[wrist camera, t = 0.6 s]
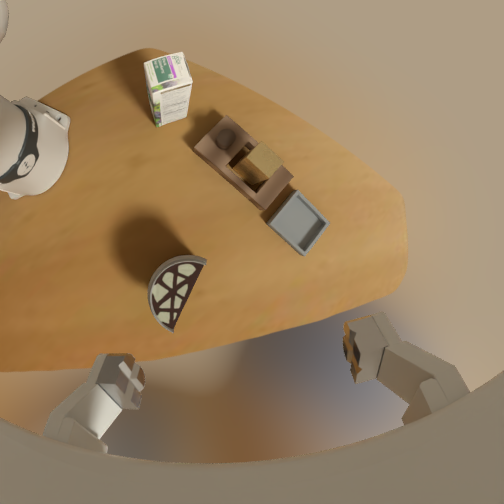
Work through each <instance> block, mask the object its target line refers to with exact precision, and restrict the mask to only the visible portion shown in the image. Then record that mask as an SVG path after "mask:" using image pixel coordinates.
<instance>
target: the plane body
mask: <svg viewBox="0 0 504 504" xmlns="http://www.w3.org/2000/svg"><path fill="white" fill-rule="evenodd" d="M257 144H258V142H257V141H256V140H254V139H253V138H252V137H251V136H250V135H249V134H248V133H247V132H246V131H244V130H243V129H242V128H241V127H240V126H239V125H238V124H236V123H235V122H234V121H233V120H232V119H231V118H229V117H228V116H227V115H226V116H225V117H224V118H223V119H222V120H221V121H220V122H218V123H217V124H216V125H215V126H214V127H213V128H212V129H211V130H210V131H209V132H208V133H207V134H206V135H205V136H204V137H203V138H202V139H201V141H200V142H199V143H198V144H197V145H196V146H195V147H194V150H193V152H194V153H196V154H197V155H198V156H199V157H200V158H202V159H203V160H204V161H205V162H206V163H207V164H209V165H210V166H211V167H212V168H213V169H214V170H215V171H217V172H218V173H219V174H220V175H221V176H222V177H223V178H225V179H226V180H227V181H228V182H229V183H230V184H231V185H233V186H234V187H235V188H236V189H237V190H238V191H239V192H240V193H242V194H243V195H244V196H245V197H246V198H247V199H248V200H249V201H251V202H252V203H253V204H254V205H255V206H256V207H257V208H258V209H259V210H266V209H267V208H268V207H269V205H270V204H271V203H272V202H273V201H274V199H275V198H276V197H277V196H278V195H279V193H280V192H281V191H282V190H283V189H284V187H285V186H286V185H287V184H288V183H289V182H290V180H291V179H292V178H293V177H294V176H293V175H292V174H291V173H290V172H289V171H288V170H287V169H286V168H284V167H283V166H282V165H281V166H280V167H279V168H278V169H277V170H276V171H275V172H274V174H273V175H272V176H271V177H270V178H269V179H266V180H264V181H263V182H262V184H261V185H260V186H259V187H258V188H257V189H256V191H255V192H254V191H253V190H252V189H250V188H249V187H248V186H247V185H246V184H245V183H244V182H243V181H242V180H240V179H239V178H238V177H237V176H236V175H235V174H234V173H233V172H231V171H230V170H229V169H228V168H227V167H226V165H227V164H228V163H229V161H230V160H231V159H232V158H233V157H234V156H235V155H236V154H237V153H238V152H239V151H240V150H241V149H242V148H243V147H244V146H245V147H246V148H248V149H249V150H251V149H252V148H254V147H255V146H256V145H257Z"/></svg>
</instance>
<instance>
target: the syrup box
mask: <svg viewBox="0 0 504 504" xmlns="http://www.w3.org/2000/svg"><path fill="white" fill-rule="evenodd" d="M144 69H145V77H146V85H147V92H148V98H149V103H150V107H151V111H152V114H153V117H154V121H155V124H156V127H159V126H162V125H165V124H167V123H170V122H173V121H176V120H179V119H182V118H185V117H187V111H188V104H189V99H190V93H191V88H192V82H193V81H192V78H191V75H190V71H189V68H188V65H187V62H186V59H185V57H184V54H183V52H180V53H175V54H170V55H166V56H162V57H159V58H156V59H153V60H150V61H147V62H144Z"/></svg>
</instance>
